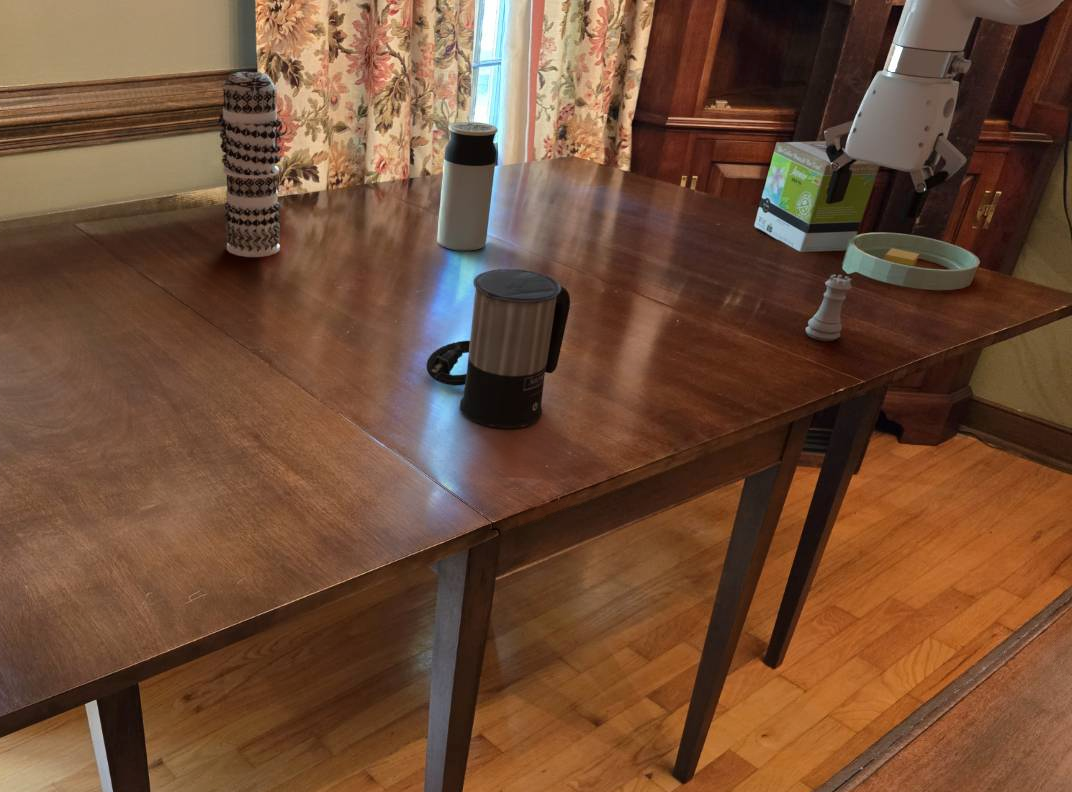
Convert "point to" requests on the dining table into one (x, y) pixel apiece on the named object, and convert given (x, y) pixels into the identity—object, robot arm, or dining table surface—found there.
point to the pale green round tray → (869, 261)
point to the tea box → (811, 199)
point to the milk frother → (507, 347)
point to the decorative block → (902, 257)
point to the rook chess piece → (829, 310)
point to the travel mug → (467, 186)
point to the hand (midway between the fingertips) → (869, 212)
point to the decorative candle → (250, 164)
